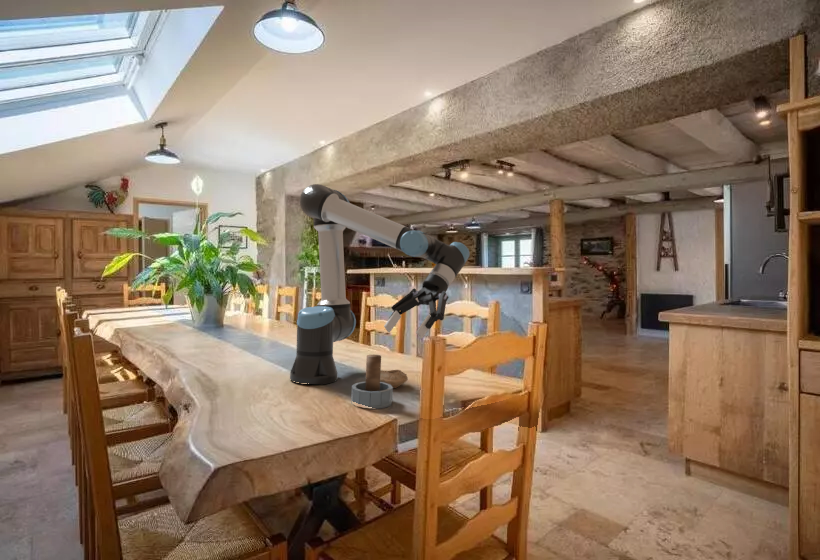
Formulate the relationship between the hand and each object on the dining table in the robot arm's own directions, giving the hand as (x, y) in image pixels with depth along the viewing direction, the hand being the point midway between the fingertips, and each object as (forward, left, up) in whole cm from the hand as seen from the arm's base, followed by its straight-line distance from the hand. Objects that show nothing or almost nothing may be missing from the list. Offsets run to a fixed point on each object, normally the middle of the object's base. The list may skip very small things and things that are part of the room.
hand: (402, 332), depth 127 cm
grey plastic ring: (-5, -9, -19) cm, 22 cm away
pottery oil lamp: (-7, +10, -19) cm, 22 cm away
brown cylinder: (-5, -9, -18) cm, 21 cm away
